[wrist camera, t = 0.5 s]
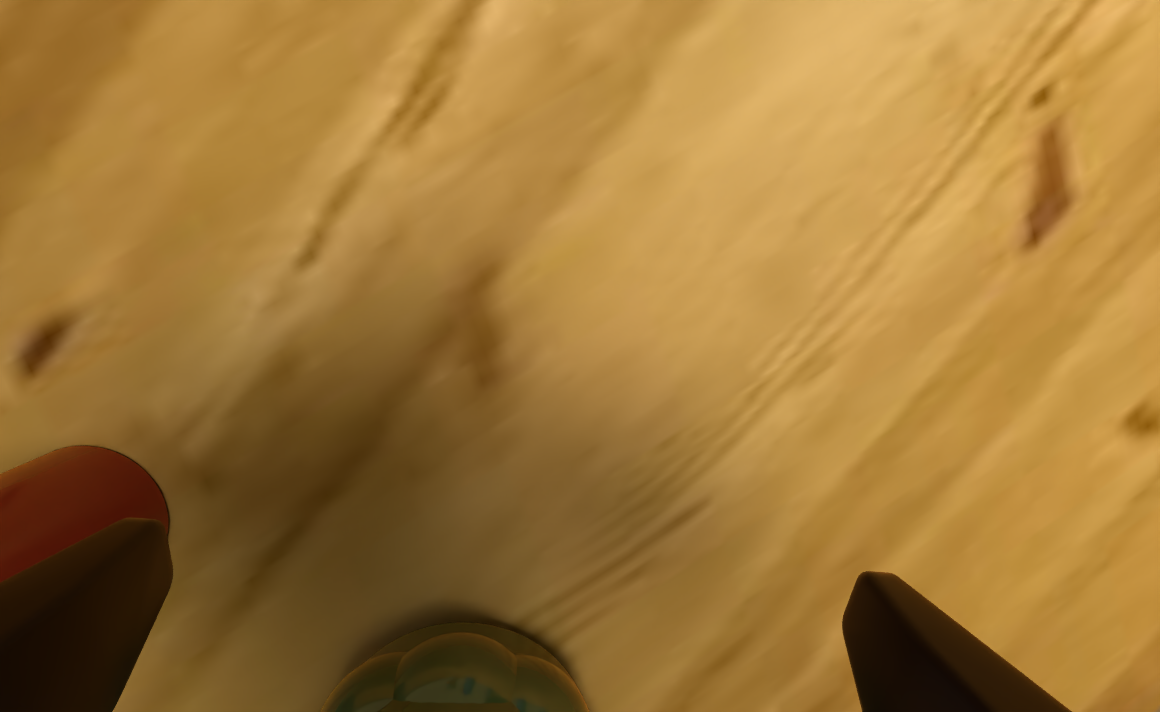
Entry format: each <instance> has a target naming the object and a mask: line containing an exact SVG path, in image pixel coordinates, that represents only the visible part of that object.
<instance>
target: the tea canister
mask: <svg viewBox="0 0 1160 712" xmlns="http://www.w3.org/2000/svg"><path fill="white" fill-rule="evenodd" d="M124 518H145V519H156V520H159V521H161V522H162V523H163V525H164V526H165V530H166V534H168V523H169V520H168V511H167V507H166V504H165V501H164V498H163V496H162V493H161V491H160V490H159V488H158V486H157V485H156V483H155V482H154V481H153V479H152V478H151V477H150V476H149V475H148V473H147V472H146V471H145V470H144V469H142V468H141V467H140V466H139V465H138V464H136V463H135V462H133V461H132V460H130V459H129V458H127V457H125V456H123V455H121V454H119V453H117V452H114V451H111V450H108V449H104V448H99V447H92V446H72V447H65V448H62V449H58V450H55V451H52V452H50V453H48V454H46V455H43V456H41V457H39V458H36V459H34V460H32V461H29V462H27V463H25V464H22V465H20V466H18V467H15V468H13V469H11V470H8V471H6V472H4V473H1V474H0V582H2V581H4V580H6V579H8V578H10V577H12V576H14V575H16V574H17V573H19V572H21V571H23V570H25V569H27V568H29V567H31V566H33V565H35V564H37V563H39V562H40V561H42V560H44V559H46V558H48V557H50V556H52V555H54V554H56V553H58V552H60V551H62V550H63V549H65V548H67V547H69V546H71V545H73V544H75V543H77V542H79V541H81V540H83V539H85V538H86V537H88V536H90V535H92V534H94V533H96V532H98V531H100V530H102V529H104V528H106V527H108V526H109V525H111V524H113V523H115V522H117V521H119V520H122V519H124Z"/></svg>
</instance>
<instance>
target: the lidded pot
mask: <svg viewBox="0 0 1160 712" xmlns="http://www.w3.org/2000/svg"><path fill="white" fill-rule="evenodd" d="M320 712H589V709H588V707H587V704H586V702H585V700H584V698H583V696H582V694H581V692H580V691H579V689H578V688H577V686H576V684H575V682H574V681H573V679H572V678H571V676H570V675H569V673H568V672H567V670H566V669H565V668H564V667H563V666H562V665H561V664H560V662H559V661H558V660H557V659H556V658H555V657H554V656H552V655H551V654H550V653H549V652H548V651H547V650H545V649H544V648H543V647H541V646H540V645H538V644H537V643H535V642H534V641H532V640H530V639H528V638H526V637H524V636H522V635H520V634H518V633H516V632H513V631H510V630H507V629H504V628H501V627H497V626H492V625H487V624H481V623H469V622H460V623H446V624H439V625H433V626H429V627H426V628H422V629H419V630H416V631H413V632H411V633H408V634H406V635H404V636H401V637H399V638H398V639H396V640H394V641H392V642H391V643H389V644H387V645H386V646H384V647H383V648H382V649H380V650H379V651H378V652H376V653H375V654H374V655H373V656H372V657H371V658H370V659H369V660H368V661H367V662H365V663H363V664H361V665H360V666H359V667H357V668H356V669H355V670H353V671H352V672H351V673H349V674H348V675H347V676H346V677H345V678H344V679H343V680H342V681H341V682H340V683H339V684H338V685H337V686H336V688H335V689H334V690H333V691H332V693H331V694H330V695H329V697H328V699H327V700H326V702H325V704H324V705H323V707H322V709H321V711H320Z"/></svg>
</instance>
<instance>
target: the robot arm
mask: <svg viewBox="0 0 1160 712" xmlns="http://www.w3.org/2000/svg"><path fill="white" fill-rule="evenodd" d="M172 579H173V565H172V560H171V555H170V550H169V545H168V539H167V534H166V530H165V526H164V525H163V523H162V522H161V521H159V520H156V519H145V518H124V519H122V520H119V521H117V522H115V523H113V524H111V525H109V526H108V527H106V528H104V529H102V530H100V531H98V532H96V533H94V534H92V535H90V536H88V537H86V538H85V539H83V540H81V541H79V542H77V543H75V544H73V545H71V546H69V547H67V548H65V549H63V550H62V551H60V552H58V553H56V554H54V555H52V556H50V557H48V558H46V559H44V560H42V561H40V562H39V563H37V564H35V565H33V566H31V567H29V568H27V569H25V570H23V571H21V572H19V573H17V574H16V575H14V576H12V577H10V578H8V579H6V580H4V581H2V582H0V712H112V711H113V709H114V708H115V706H116V704H117V702H118V700H119V698H120V696H121V694H122V692H123V690H124V688H125V685H126V683H127V681H128V679H129V677H130V675H131V672H132V670H133V668H134V666H135V664H136V662H137V659H138V657H139V655H140V653H141V651H142V648H143V646H144V644H145V642H146V640H147V638H148V635H149V633H150V631H151V629H152V627H153V625H154V622H155V620H156V618H157V616H158V614H159V611H160V609H161V607H162V605H163V603H164V601H165V598H166V596H167V594H168V592H169V589H170V587H171V583H172ZM842 629H843V636H844V640H845V644H846V648H847V652H848V656H849V660H850V664H851V668H852V672H853V676H854V680H855V684H856V688H857V692H858V696H859V700H860V704H861V708H862V712H1072V711H1070V710H1069V709H1068V708H1066V707H1065V706H1064V705H1063V704H1061V703H1060V702H1059V701H1057V700H1056V699H1055V698H1053V697H1052V696H1051V695H1050V694H1048V693H1047V692H1046V691H1044V690H1043V689H1042V688H1041V687H1039V686H1038V685H1037V684H1035V683H1034V682H1033V681H1032V680H1030V679H1029V678H1028V677H1026V676H1025V675H1024V674H1023V673H1021V672H1020V671H1019V670H1017V669H1016V668H1015V667H1014V666H1012V665H1011V664H1010V663H1008V662H1007V661H1006V660H1005V659H1003V658H1002V657H1001V656H999V655H998V654H997V653H996V652H994V651H993V650H992V649H990V648H989V647H988V646H987V645H985V644H984V643H983V642H981V641H980V640H979V639H978V638H976V637H975V636H974V635H972V634H971V633H970V632H969V631H967V630H966V629H965V628H963V627H962V626H961V625H960V624H958V623H957V622H956V621H954V620H953V619H952V618H951V617H949V616H948V615H947V614H945V613H944V612H943V611H942V610H940V609H939V608H938V607H936V606H935V605H934V604H933V603H931V602H930V601H929V600H927V599H926V598H925V597H924V596H922V595H921V594H920V593H918V592H917V591H916V590H915V589H913V588H912V587H911V586H909V585H908V584H907V583H906V582H904V581H903V580H902V579H900V578H899V577H898V576H896V575H894V574H892V573H885V572H871V571H866V572H863V573H861V574H860V575H859V576H858V578H857V580H856V583H855V586H854V588H853V591H852V593H851V596H850V599H849V601H848V604H847V607H846V609H845V612H844V615H843V621H842Z"/></svg>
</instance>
